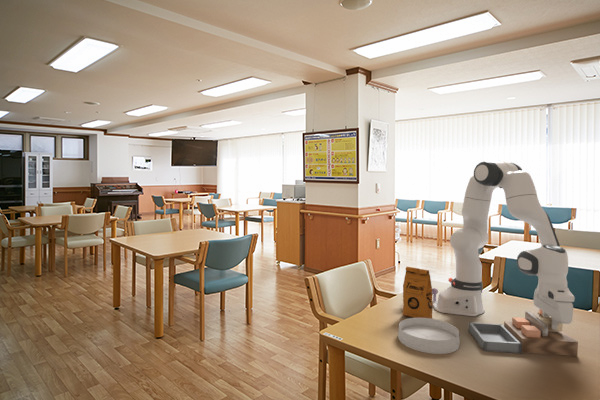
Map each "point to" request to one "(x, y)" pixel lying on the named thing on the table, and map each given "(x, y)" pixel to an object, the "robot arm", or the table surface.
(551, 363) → the table surface
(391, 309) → the table surface
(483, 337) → the box
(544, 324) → the scraper
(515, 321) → the terracotta tile
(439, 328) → the dish
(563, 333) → the walnut board
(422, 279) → the coffee package
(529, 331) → the terracotta tile
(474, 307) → the robot arm
